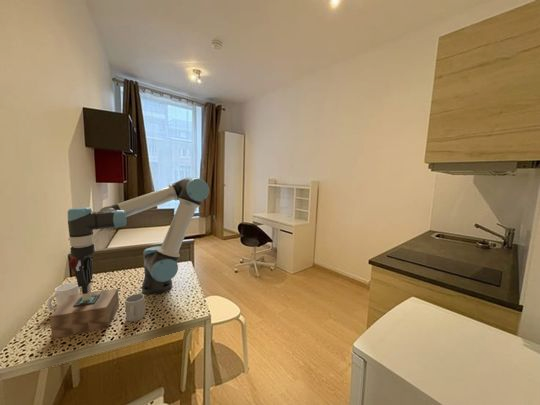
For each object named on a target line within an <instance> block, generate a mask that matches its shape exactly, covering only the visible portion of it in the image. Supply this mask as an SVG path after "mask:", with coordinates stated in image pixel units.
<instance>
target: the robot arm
mask: <svg viewBox="0 0 540 405" xmlns="http://www.w3.org/2000/svg"><path fill="white" fill-rule="evenodd" d="M209 194H210V187H209V185H208V183H207V182H206V181H205V180H204V179H202V178H198V177H186V178H183V179H180V180H178V181H175V182H173V183H170V184H168V186H167V187H164V188H161V189H158V190H155V191H152V192H149V193H146V194H142V195H140V196H136V197H133V198H131V199H128V200H125V201H122V202H119V203H116V204H113V205H109V206H105V207H102V208H101V209H99V211H92V208H91V207H89V206H85V207H84V206H82V207H71V208H69V209H68V210H67V226H68V227H67V228H68V235H69V237H68V238H67V240H68V241H69V246H70V256H71V258H73V257H76V258H77V260H76V265H77V267H74V268H73V269H74V270H73V269H72V270H73V271H74V274H75V279H76V282H77V283H78V287H79V288H81V290H80V291H81V294H82V301H85V300H91V298H92V295H91V292H92V285H91V284H93V283H94V280H93V272H94V270H93V267H94V266H93V265H94V263H93V262H94V256H91V255H93V254H94V253H95V252H96V251H95V244H94V243H95V239H94V236H95V235H94V230H104V229H113V228H115V229H116V228H117V229H118V228H121V227H126V225H127V220H128V219H127V218H128V217H130V216H132V215H137V214H138V213H141V212H144V211H148V210H149V209H153V208H155V207H158V206H161V205H164V204H165V203H168V202H171V201H179V203H178V206H177V209H176V211H175V214H174V215H173V219H172V220H171V222H170V225H169V228H168V229H167V232H166V235H165V237H164V239H163V242H162V244H161V245H159V246H158V245H157V246H152V247H147V248H145V249H144V250H143V255H142V256H143V267H144V268H143V269H144V271H143V272H144V278H143V282H142V285H141V292H142V294H143V295H149V296H150V295H151V296H152V295H158V294H161V293H165V292H167V291H169V290H170V289H171V288H172V287H173V278H175V277H176V275H177V273H178V272H179V271H178V270H179V265H178V261H179V259H180V257H181V255H180V253H179V251H180V248H181V246H182V245H183V241H184V239H185V236H186V234H187V231H188V229H189V227H190V224H191V222H192V219H193V217H194V214H195V212H196V210H197V209H198V208H200V207H201V205H202V203H203V201H205V200H206V199H207V197H208V196H209Z"/></svg>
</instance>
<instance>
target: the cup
mask: <svg viewBox="0 0 540 405" xmlns="http://www.w3.org/2000/svg"><path fill="white" fill-rule="evenodd" d="M124 305H125V308H124V309H125V319H126V321H127V322H130V323H132V322H134V323H135V322H137V321H140V320H142V319H143V318H144V317H145V315H146V304H145V294H144V293H134V294H131V295H128V296H127V297H126V298H125V300H124Z"/></svg>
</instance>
